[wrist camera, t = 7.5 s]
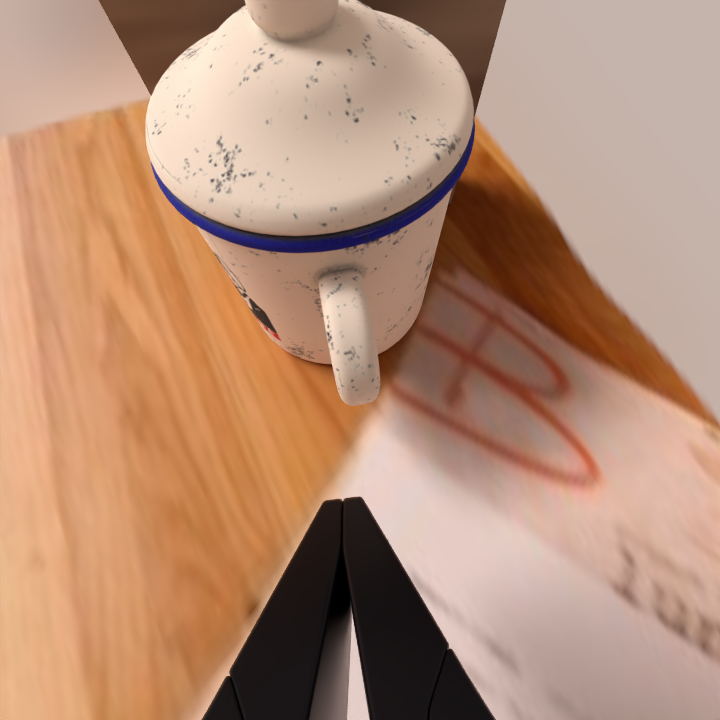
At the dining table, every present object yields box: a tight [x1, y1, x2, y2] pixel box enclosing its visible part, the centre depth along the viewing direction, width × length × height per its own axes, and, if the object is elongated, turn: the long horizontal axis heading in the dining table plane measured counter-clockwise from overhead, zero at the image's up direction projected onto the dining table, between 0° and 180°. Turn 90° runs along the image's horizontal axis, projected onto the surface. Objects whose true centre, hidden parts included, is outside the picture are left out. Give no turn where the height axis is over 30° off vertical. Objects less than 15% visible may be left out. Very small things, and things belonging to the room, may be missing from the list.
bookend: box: [99, 0, 506, 205], centre depth 15 cm, size 2×13×11 cm, turn 95°
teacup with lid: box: [146, 0, 475, 406], centre depth 12 cm, size 12×9×12 cm
